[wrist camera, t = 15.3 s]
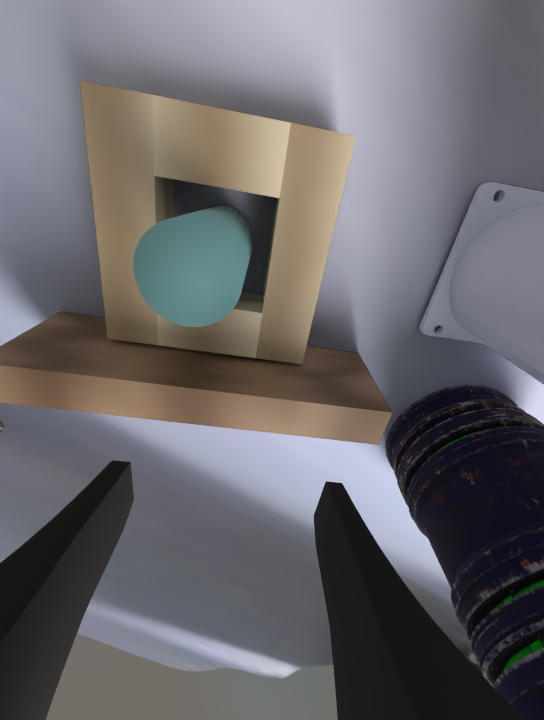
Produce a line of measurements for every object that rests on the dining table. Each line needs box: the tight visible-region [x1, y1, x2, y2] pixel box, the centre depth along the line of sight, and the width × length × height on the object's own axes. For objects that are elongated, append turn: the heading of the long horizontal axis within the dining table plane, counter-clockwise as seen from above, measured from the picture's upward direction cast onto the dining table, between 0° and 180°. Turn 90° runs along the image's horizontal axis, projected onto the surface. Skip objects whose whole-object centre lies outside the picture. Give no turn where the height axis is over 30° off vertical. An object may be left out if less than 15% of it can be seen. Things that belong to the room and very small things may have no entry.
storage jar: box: [386, 385, 544, 720], centre depth 16 cm, size 10×10×15 cm
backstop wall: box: [0, 312, 392, 445], centre depth 16 cm, size 18×2×6 cm, turn 81°
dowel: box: [133, 206, 254, 327], centre depth 13 cm, size 3×3×8 cm
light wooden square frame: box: [80, 80, 356, 364], centre depth 15 cm, size 10×10×3 cm
